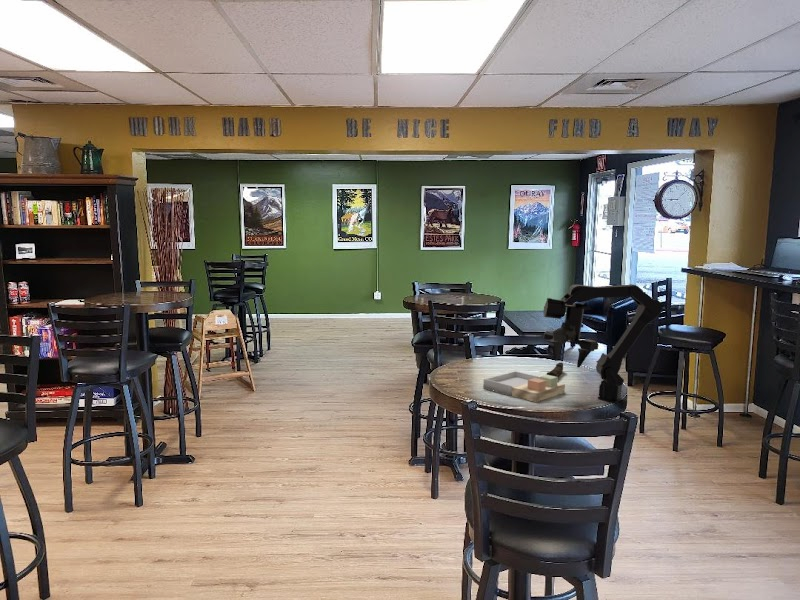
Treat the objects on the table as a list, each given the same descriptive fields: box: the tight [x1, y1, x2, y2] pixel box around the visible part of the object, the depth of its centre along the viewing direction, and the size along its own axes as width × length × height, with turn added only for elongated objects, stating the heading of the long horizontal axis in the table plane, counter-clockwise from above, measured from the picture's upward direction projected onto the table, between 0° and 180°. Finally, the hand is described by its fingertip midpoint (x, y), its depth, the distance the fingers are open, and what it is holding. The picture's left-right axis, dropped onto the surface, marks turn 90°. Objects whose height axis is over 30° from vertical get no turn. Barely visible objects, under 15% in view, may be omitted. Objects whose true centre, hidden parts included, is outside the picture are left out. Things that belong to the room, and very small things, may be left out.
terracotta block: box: [527, 378, 546, 391], centre depth 198 cm, size 4×4×3 cm
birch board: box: [512, 382, 566, 403], centre depth 202 cm, size 10×19×3 cm, turn 134°
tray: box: [482, 370, 540, 397], centre depth 210 cm, size 12×20×4 cm, turn 134°
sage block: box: [539, 374, 559, 387], centre depth 203 cm, size 4×4×3 cm
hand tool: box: [545, 362, 564, 378], centre depth 229 cm, size 19×4×5 cm, turn 149°
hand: (566, 364), depth 198 cm, fingers open, 9 cm apart
